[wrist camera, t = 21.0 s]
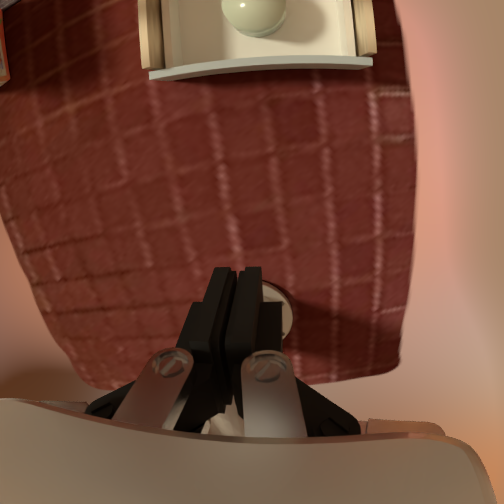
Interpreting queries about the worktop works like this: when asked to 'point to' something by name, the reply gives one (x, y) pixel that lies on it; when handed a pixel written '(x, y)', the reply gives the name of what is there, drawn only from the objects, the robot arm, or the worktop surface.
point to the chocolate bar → (7, 4)
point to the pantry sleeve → (155, 41)
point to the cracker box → (3, 55)
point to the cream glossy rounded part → (255, 16)
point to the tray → (256, 40)
